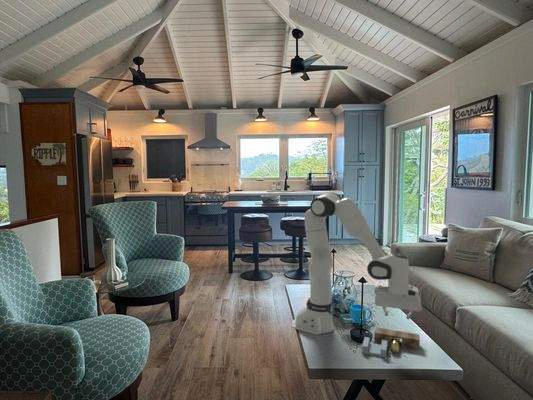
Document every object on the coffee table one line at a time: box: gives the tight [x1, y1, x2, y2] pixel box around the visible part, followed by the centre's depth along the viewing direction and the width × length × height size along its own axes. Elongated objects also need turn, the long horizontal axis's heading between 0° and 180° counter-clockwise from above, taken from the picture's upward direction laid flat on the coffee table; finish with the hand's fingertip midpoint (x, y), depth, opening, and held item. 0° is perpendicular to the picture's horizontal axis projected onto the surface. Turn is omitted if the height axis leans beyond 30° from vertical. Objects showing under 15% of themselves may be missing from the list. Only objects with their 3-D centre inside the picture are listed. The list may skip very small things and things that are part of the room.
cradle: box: [361, 336, 388, 359], centre depth 159 cm, size 10×9×4 cm
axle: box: [390, 337, 401, 356], centre depth 163 cm, size 4×14×4 cm, turn 157°
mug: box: [349, 303, 373, 325], centre depth 191 cm, size 12×8×8 cm
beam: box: [373, 326, 421, 351], centre depth 166 cm, size 20×6×5 cm, turn 67°
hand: (397, 317), depth 161 cm, fingers open, 8 cm apart
